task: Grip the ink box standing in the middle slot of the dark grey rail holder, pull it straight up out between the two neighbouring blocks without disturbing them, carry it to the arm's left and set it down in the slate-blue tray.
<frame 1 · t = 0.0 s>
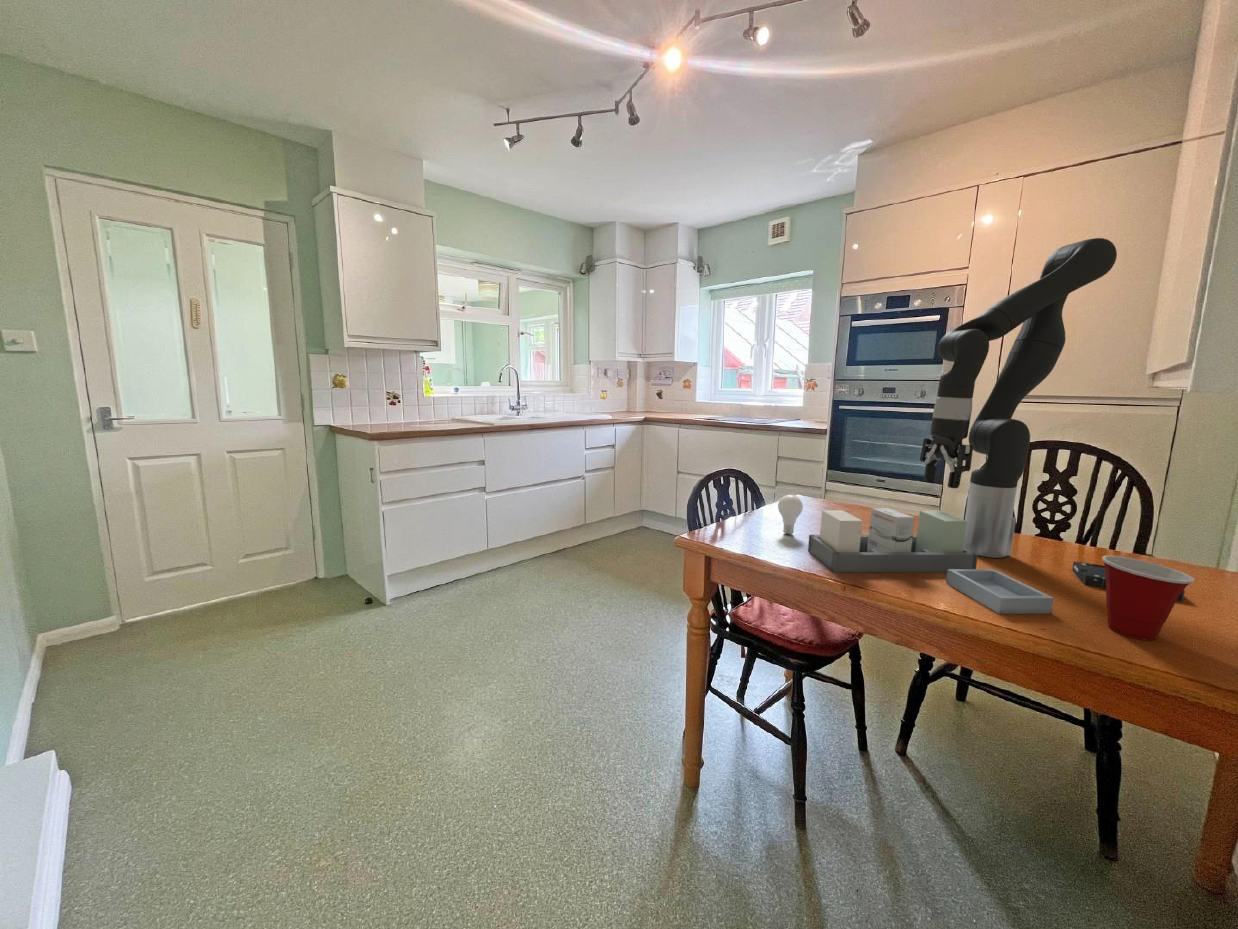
hand: (940, 484, 121), 17 cm above the table, tool pointing down, fingers open, 8 cm apart
holder: (887, 560, 118), on the table
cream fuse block: (837, 560, 117), resting in holder
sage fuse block: (936, 560, 118), resting in holder
ink box: (887, 561, 118), resting in holder
disk drive: (1122, 587, 106), on the table
lightbulb: (788, 535, 137), on the table
plastic cup: (1132, 633, 85), on the table
tray: (995, 597, 99), on the table
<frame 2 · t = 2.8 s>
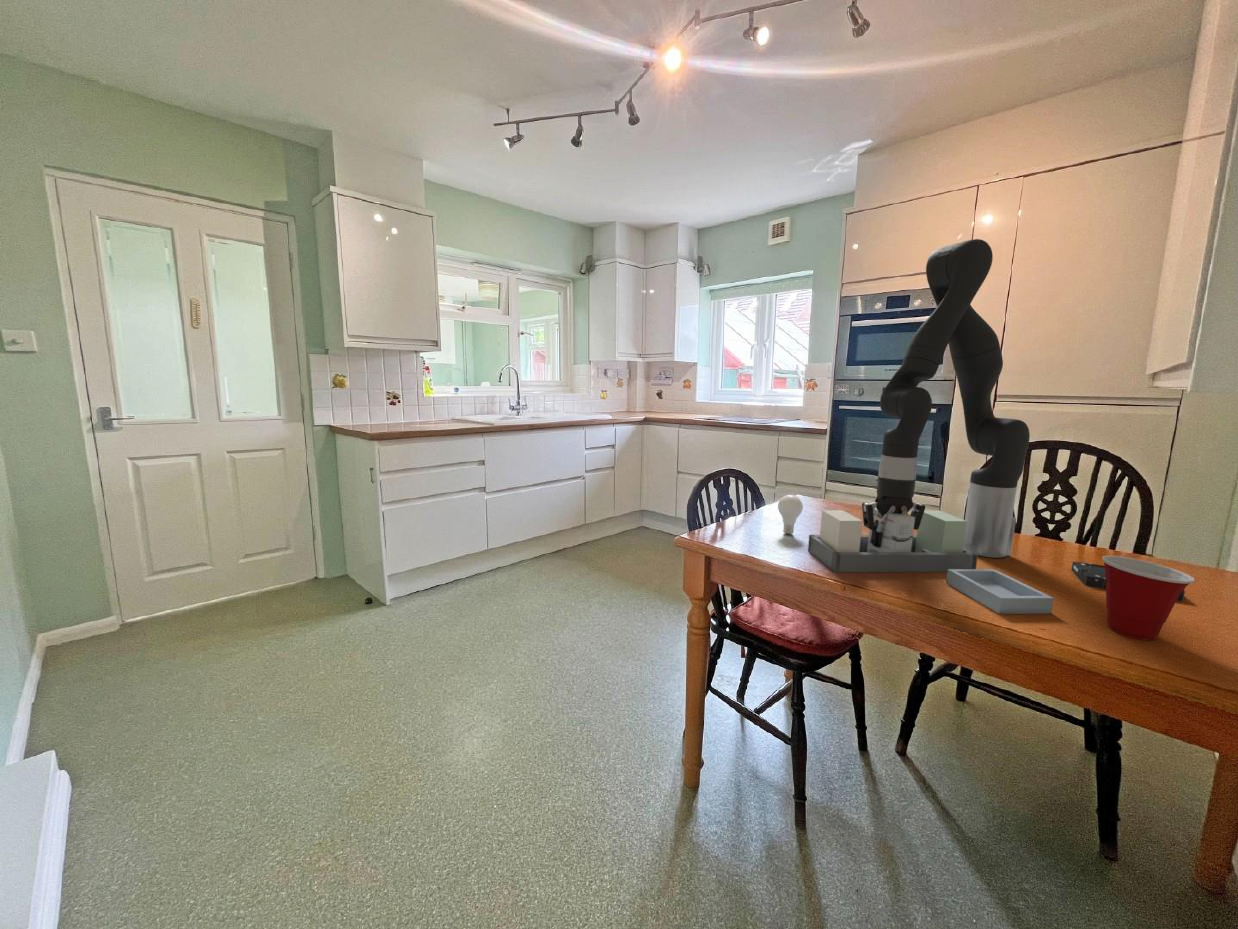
hand: (888, 546, 117), 4 cm above the table, tool pointing down, fingers closed on ink box, 5 cm apart
ink box: (887, 561, 118), resting in holder, touching gripper
everything else where it was.
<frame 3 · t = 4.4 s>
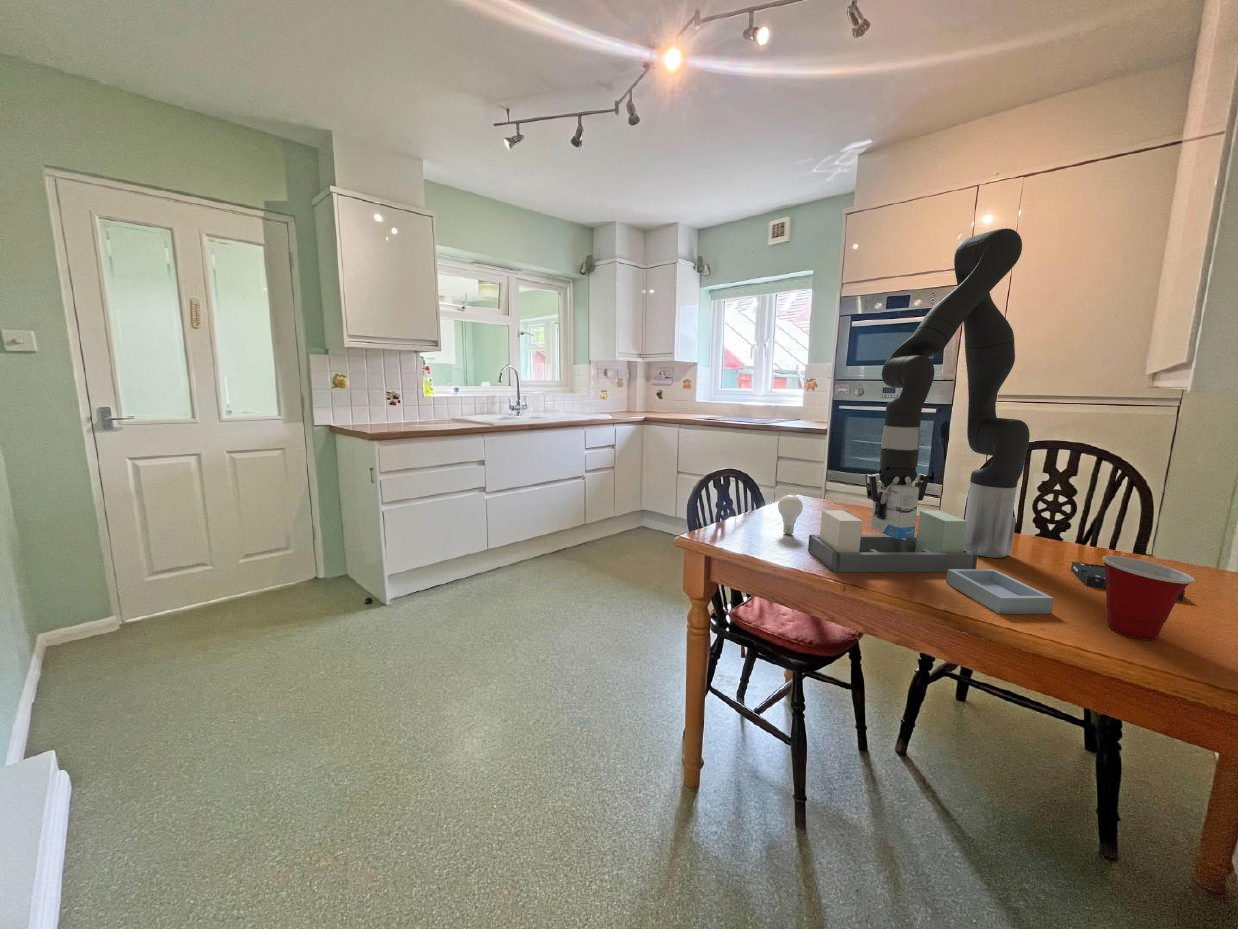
hand: (893, 518, 116), 10 cm above the table, tool pointing down, fingers closed on ink box, 5 cm apart
ink box: (891, 533, 117), point 6 cm above the table, touching gripper
everything else where it was.
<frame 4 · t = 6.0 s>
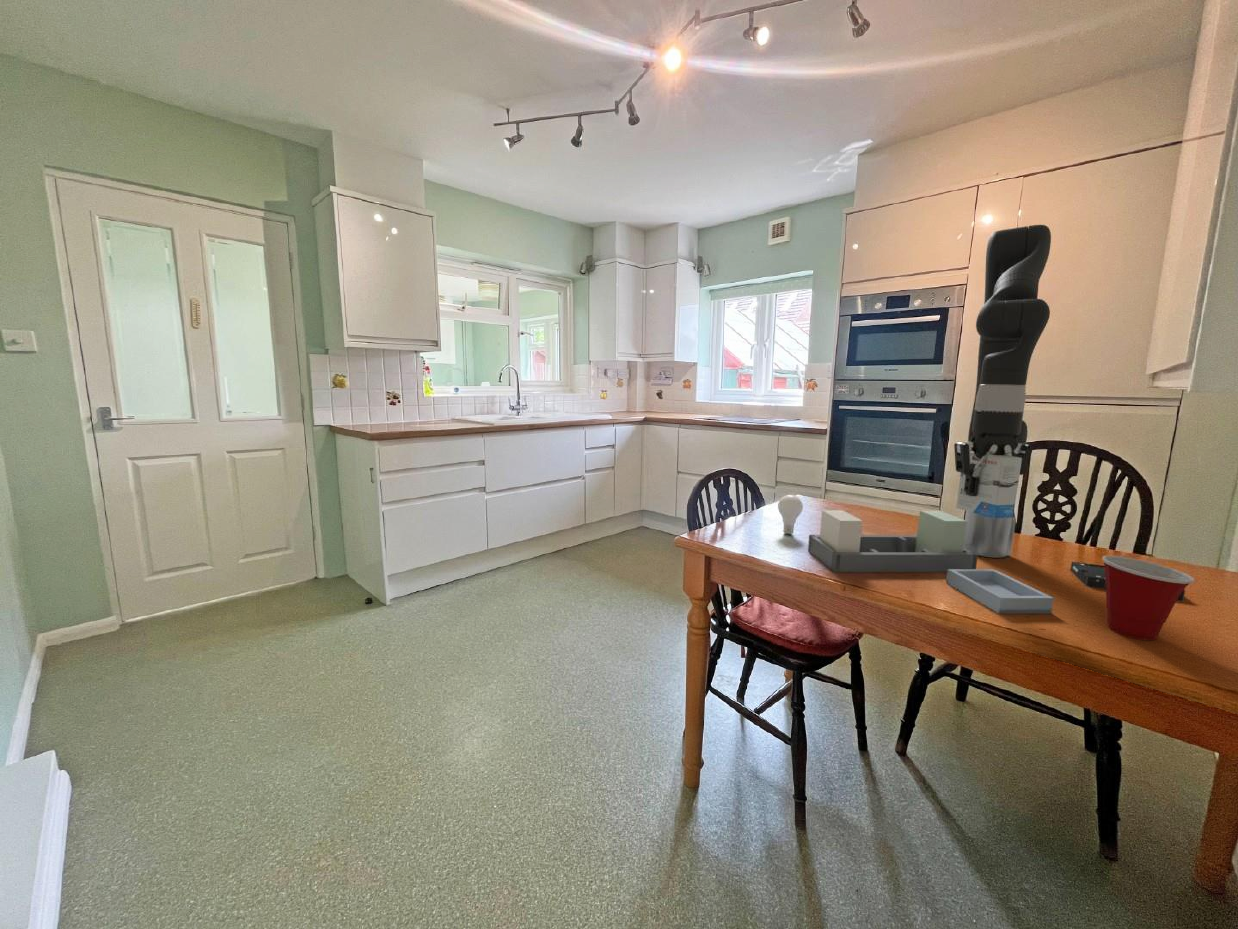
hand: (986, 495, 98), 20 cm above the table, tool pointing down, fingers closed on ink box, 5 cm apart
ink box: (983, 513, 99), point 16 cm above the table, touching gripper
everything else where it was.
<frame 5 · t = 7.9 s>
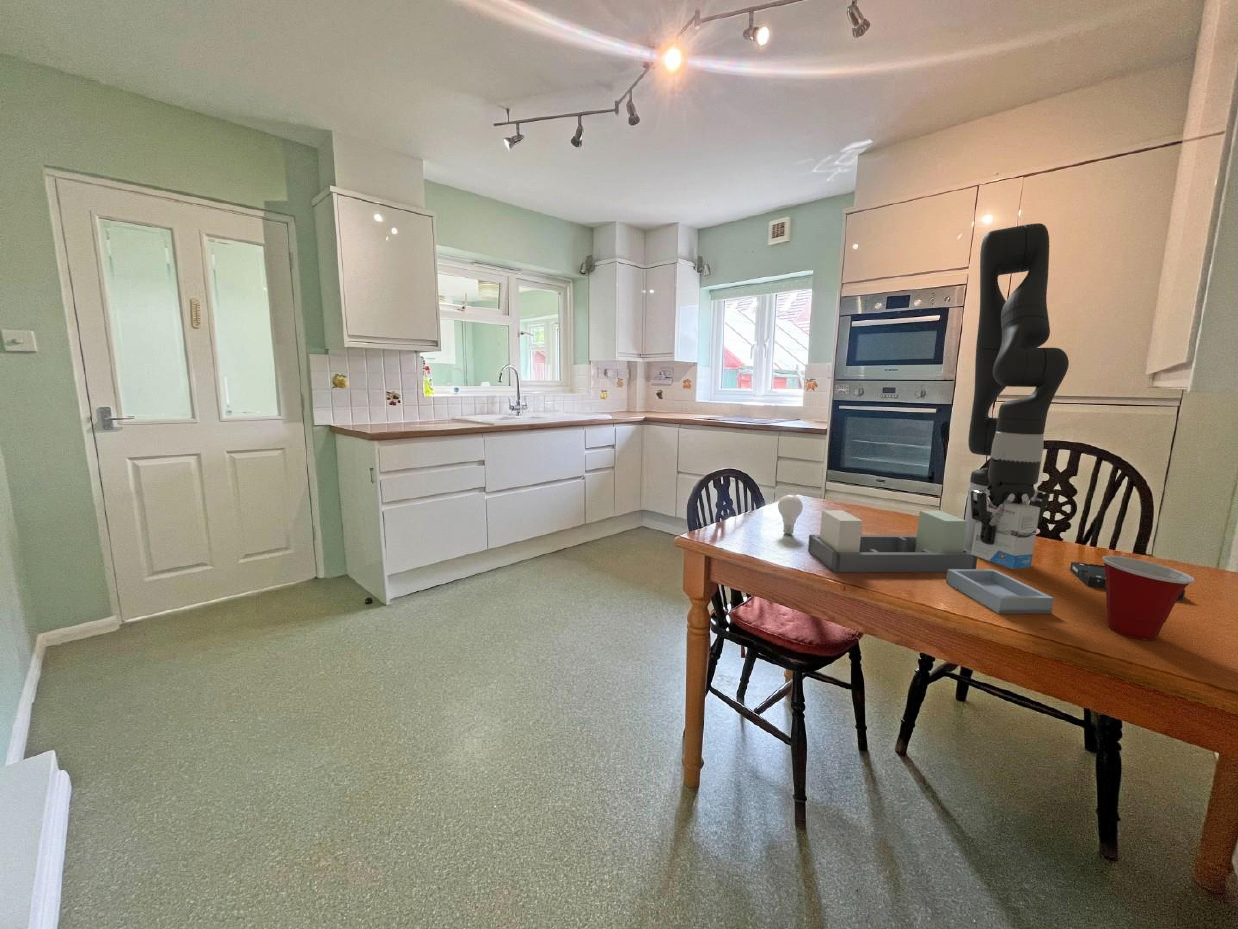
hand: (1002, 543, 97), 11 cm above the table, tool pointing down, fingers closed on ink box, 5 cm apart
ink box: (999, 561, 97), point 7 cm above the table, touching gripper
everything else where it was.
when the fingers open (6 cm above the table, at t = 9.4 s): ink box drops 2 cm, resting on tray.
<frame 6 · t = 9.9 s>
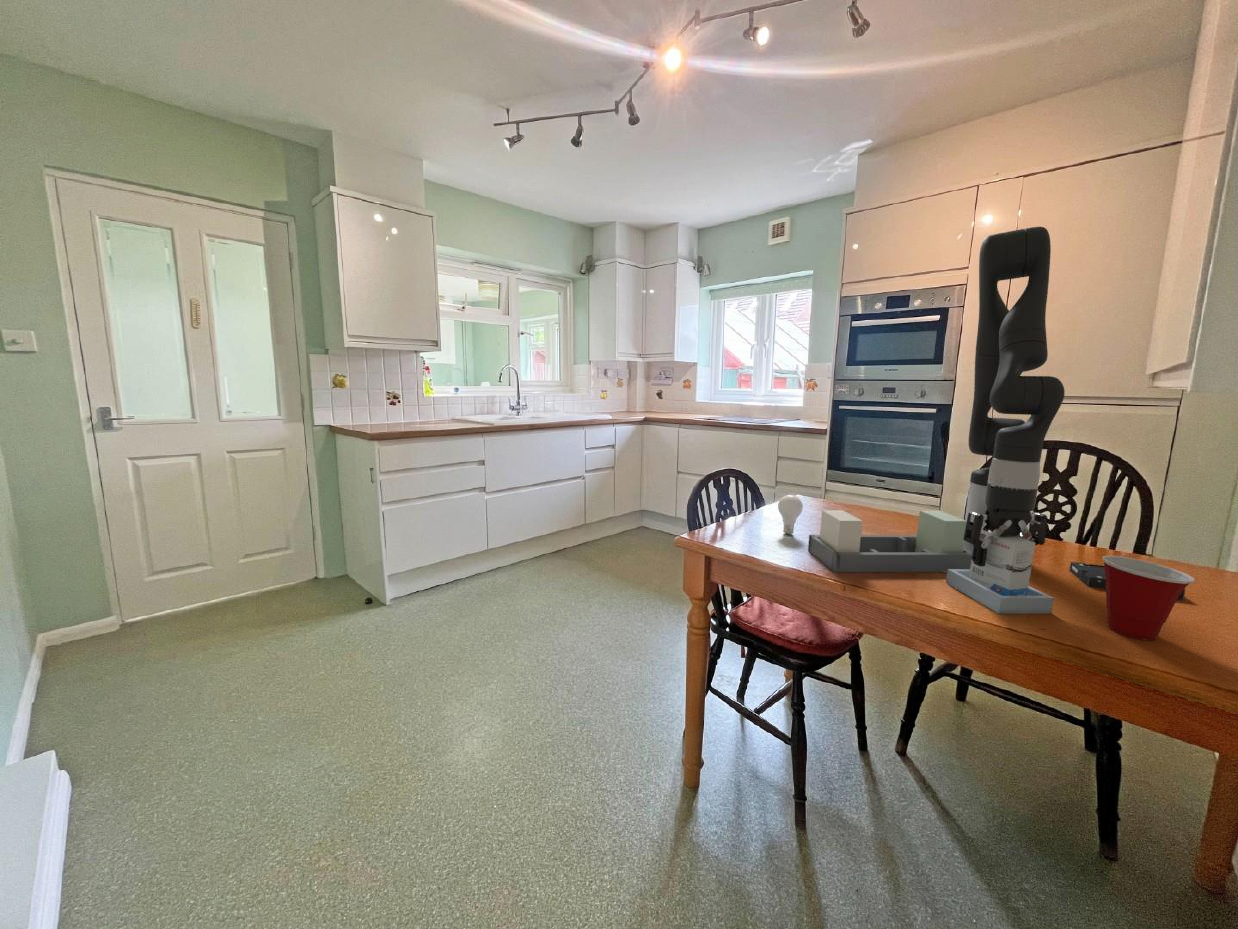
hand: (999, 565, 97), 7 cm above the table, tool pointing down, fingers open, 8 cm apart
ink box: (995, 594, 98), point 1 cm above the table, touching tray
everything else where it was.
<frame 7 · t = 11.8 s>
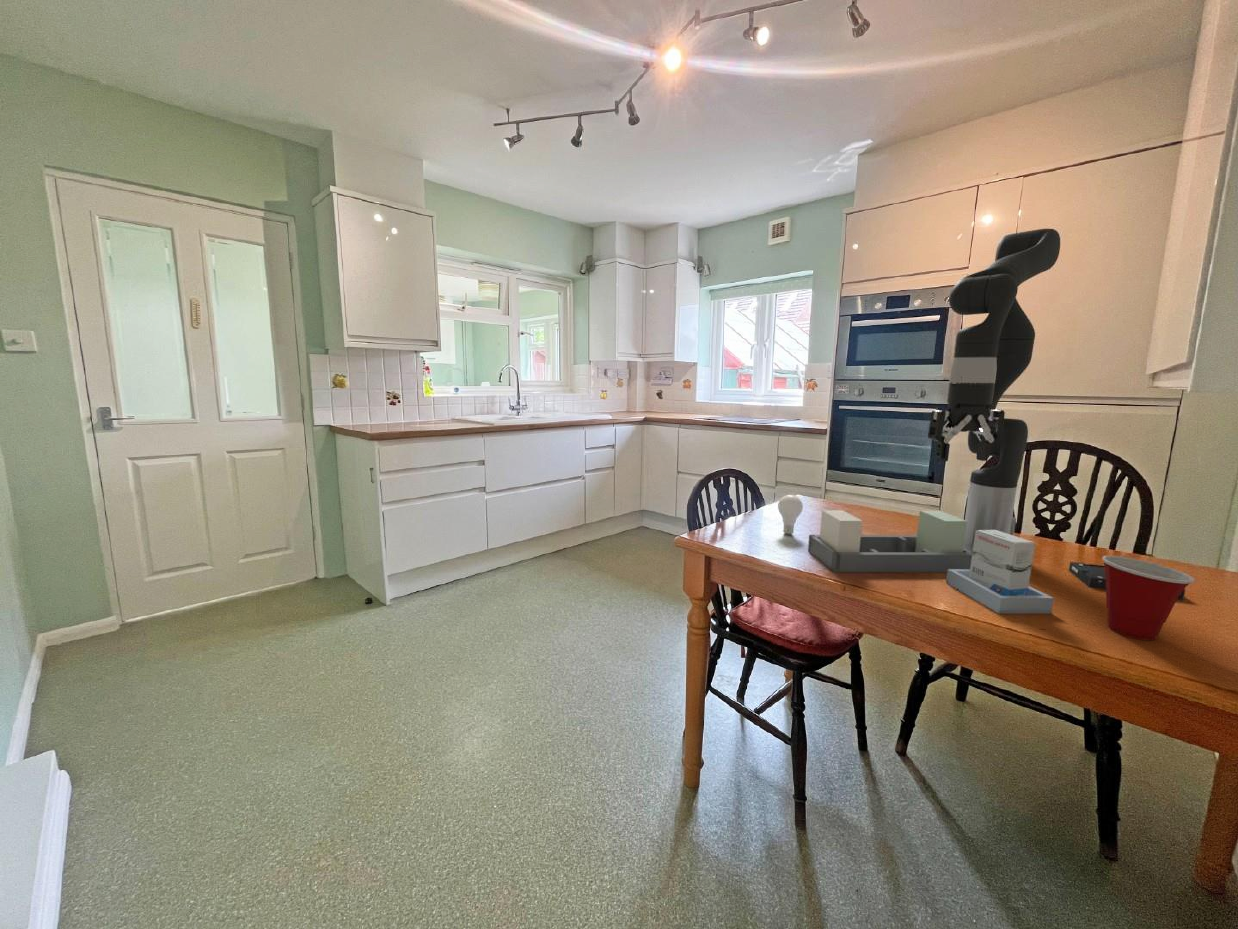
hand: (962, 460, 103), 26 cm above the table, tool pointing down, fingers open, 8 cm apart
nothing on the table moved.
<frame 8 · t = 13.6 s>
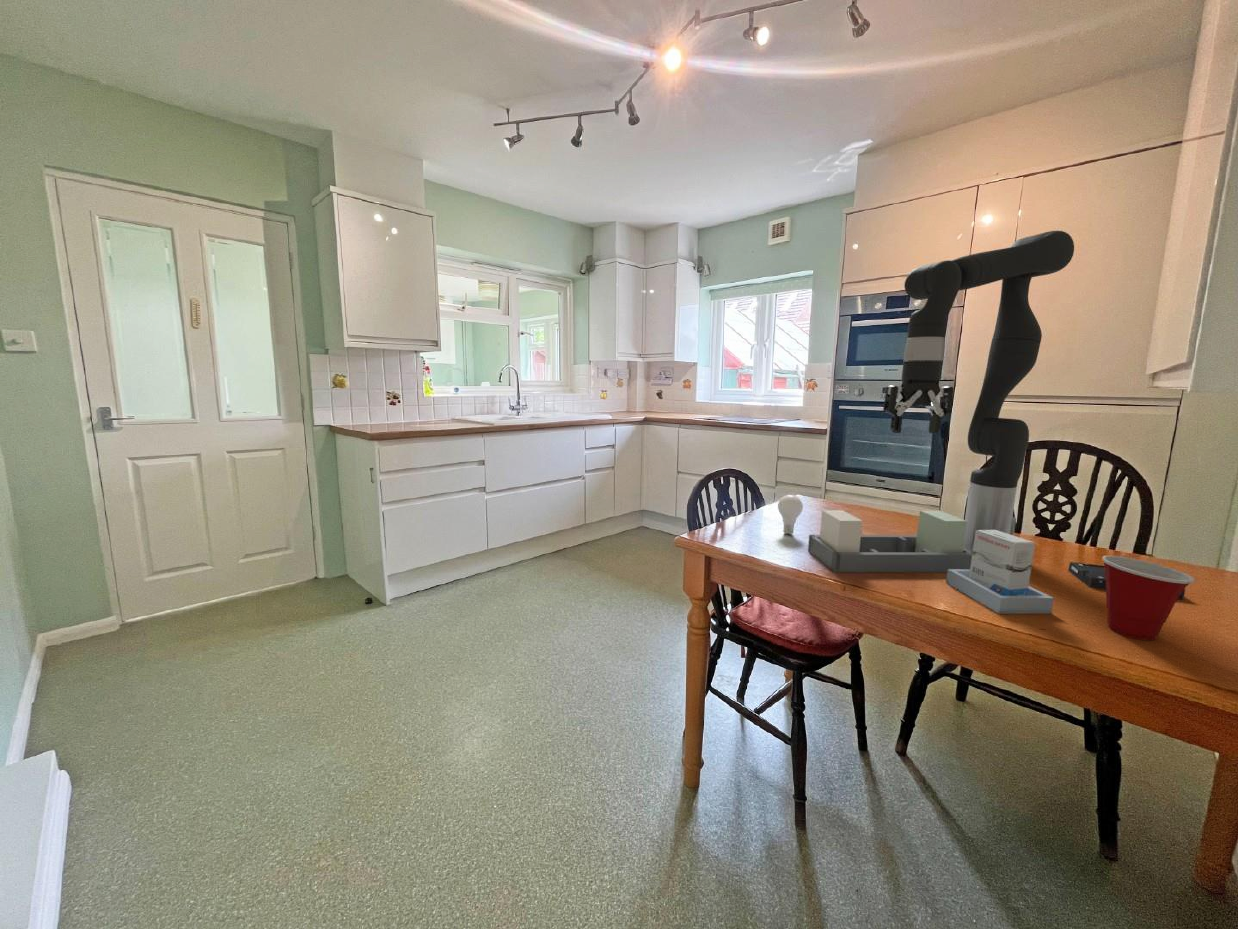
hand: (914, 432, 113), 30 cm above the table, tool pointing down, fingers open, 8 cm apart
nothing on the table moved.
at the end: ink box inside the target area on the tray (0.1 cm from its centre), point 0.6 cm above the tray's base; the gripper is holding nothing; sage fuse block moved 0.1 cm from its start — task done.
